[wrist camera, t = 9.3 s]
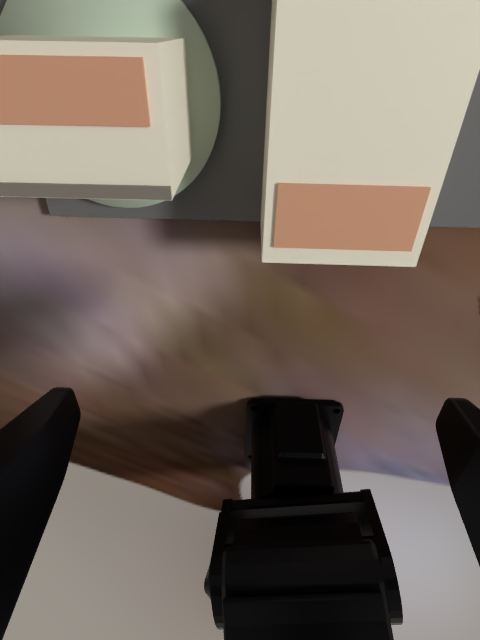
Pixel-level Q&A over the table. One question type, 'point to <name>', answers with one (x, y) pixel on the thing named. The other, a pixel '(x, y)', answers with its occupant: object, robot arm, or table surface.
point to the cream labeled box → (362, 125)
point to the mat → (249, 134)
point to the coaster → (135, 21)
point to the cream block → (93, 117)
